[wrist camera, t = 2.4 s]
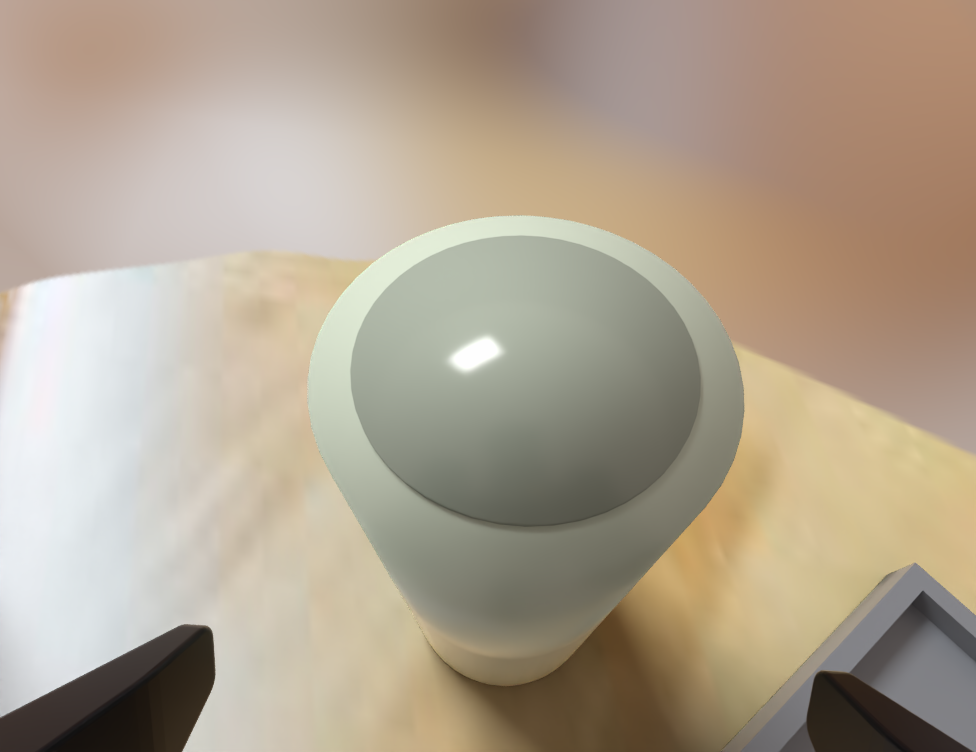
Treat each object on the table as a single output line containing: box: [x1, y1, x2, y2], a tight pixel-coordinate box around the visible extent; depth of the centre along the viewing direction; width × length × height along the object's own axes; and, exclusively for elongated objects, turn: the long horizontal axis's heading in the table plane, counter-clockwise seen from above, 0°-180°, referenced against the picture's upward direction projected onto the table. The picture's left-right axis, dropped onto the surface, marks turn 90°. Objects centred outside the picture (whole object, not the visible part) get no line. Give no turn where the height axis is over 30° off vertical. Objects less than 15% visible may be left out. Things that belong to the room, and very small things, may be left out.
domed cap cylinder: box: [308, 216, 744, 686], centre depth 13 cm, size 6×6×13 cm
